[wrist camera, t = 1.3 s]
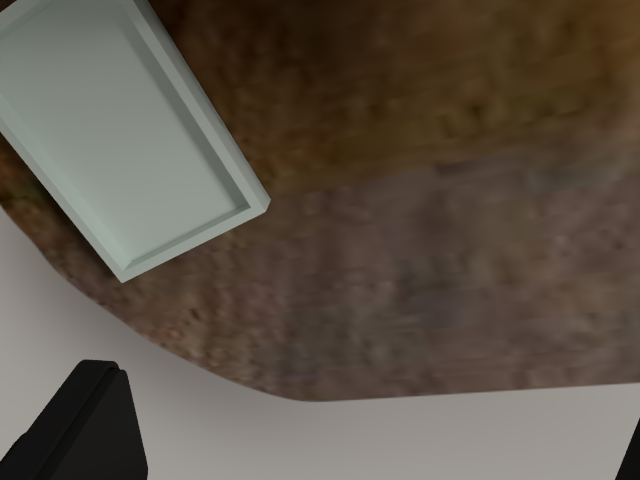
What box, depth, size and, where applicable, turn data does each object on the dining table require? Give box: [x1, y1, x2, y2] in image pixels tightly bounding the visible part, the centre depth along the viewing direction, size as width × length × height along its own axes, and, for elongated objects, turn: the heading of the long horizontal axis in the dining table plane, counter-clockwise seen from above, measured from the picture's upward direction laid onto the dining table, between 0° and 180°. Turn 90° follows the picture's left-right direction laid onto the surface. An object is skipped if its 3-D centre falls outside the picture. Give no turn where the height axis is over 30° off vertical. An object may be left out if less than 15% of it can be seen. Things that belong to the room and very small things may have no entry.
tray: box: [0, 0, 271, 283], centre depth 37 cm, size 20×14×2 cm
